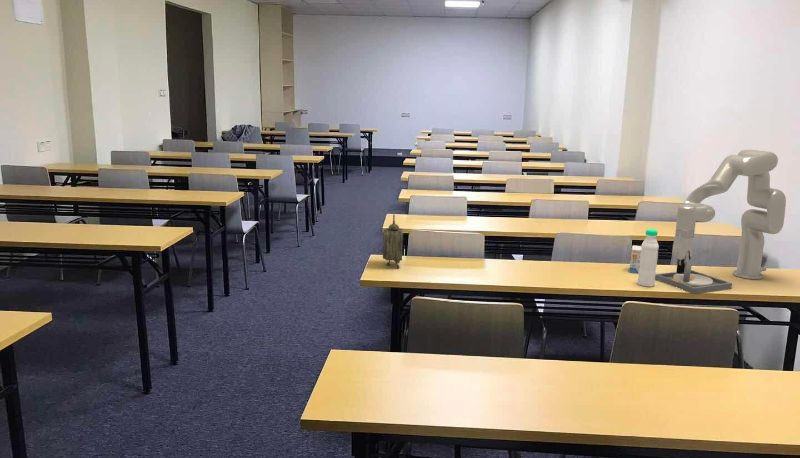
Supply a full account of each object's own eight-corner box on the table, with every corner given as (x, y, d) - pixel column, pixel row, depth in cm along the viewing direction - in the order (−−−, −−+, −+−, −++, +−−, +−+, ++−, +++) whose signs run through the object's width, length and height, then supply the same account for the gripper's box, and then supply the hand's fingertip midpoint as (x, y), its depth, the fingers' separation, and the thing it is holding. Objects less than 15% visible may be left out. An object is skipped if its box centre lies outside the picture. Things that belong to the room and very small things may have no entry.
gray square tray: (690, 275, 285) (691, 269, 284) (731, 288, 265) (732, 282, 264) (654, 279, 277) (655, 273, 276) (693, 293, 257) (694, 287, 256)
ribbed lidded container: (401, 270, 284) (402, 217, 279) (382, 269, 284) (383, 217, 279) (402, 261, 298) (402, 212, 293) (383, 261, 299) (384, 211, 293)
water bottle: (655, 287, 264) (662, 232, 259) (638, 286, 266) (644, 230, 260) (652, 283, 271) (658, 228, 266) (636, 281, 272) (641, 227, 267)
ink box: (629, 272, 287) (631, 248, 285) (629, 268, 295) (631, 244, 292) (648, 274, 284) (651, 250, 282) (648, 270, 292) (651, 246, 289)
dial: (682, 274, 281) (684, 252, 279) (718, 282, 270) (721, 259, 268) (666, 280, 271) (669, 258, 268) (703, 289, 259) (706, 265, 257)
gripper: (669, 229, 273) (665, 268, 277) (683, 237, 258) (679, 278, 262) (685, 229, 273) (681, 268, 277) (701, 237, 258) (696, 278, 262)
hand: (680, 273), depth 269 cm, fingers closed
